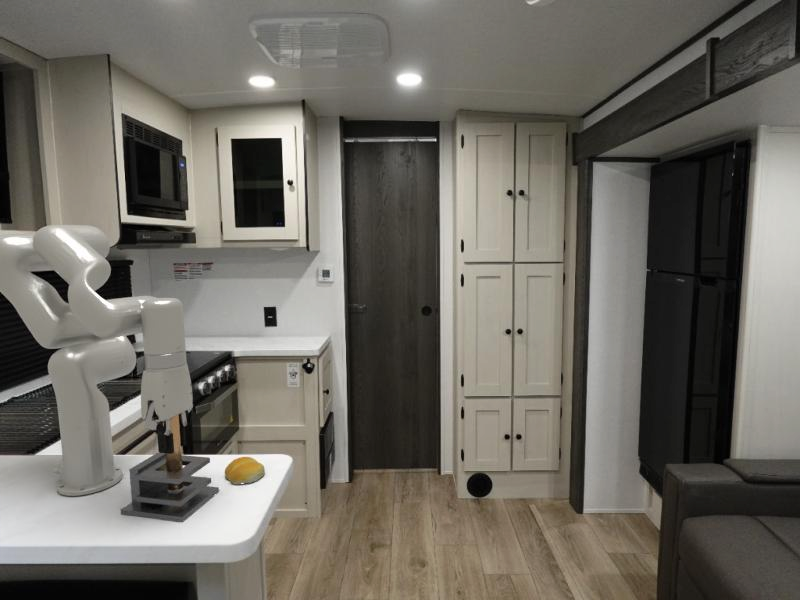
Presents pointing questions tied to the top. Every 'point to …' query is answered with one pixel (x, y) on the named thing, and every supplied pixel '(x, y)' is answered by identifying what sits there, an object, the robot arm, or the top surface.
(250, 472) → the bread roll
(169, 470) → the brown rod
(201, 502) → the collar stand
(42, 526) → the top surface
